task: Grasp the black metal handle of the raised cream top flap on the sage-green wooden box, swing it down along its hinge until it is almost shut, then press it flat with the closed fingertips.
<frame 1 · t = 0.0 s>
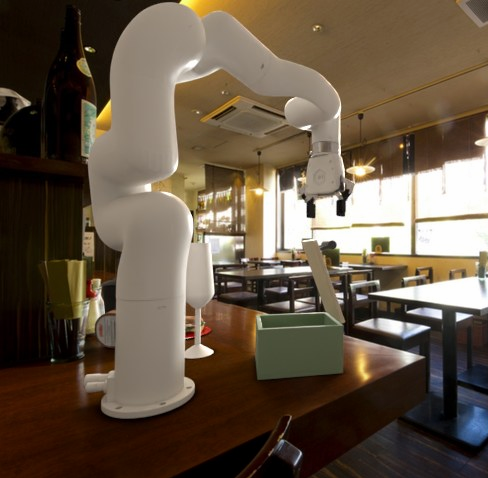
hand: (325, 217, 87), 31 cm above the table, tool pointing down, fingers open, 9 cm apart
champagne flute: (197, 354, 71), on the table
tin: (127, 348, 75), on the table
hamburger: (183, 333, 88), on the table
chest: (296, 364, 65), on the table
drinking cup: (117, 336, 85), on the table
lid: (330, 274, 67), point 18 cm above the table, hinge at 70.0°
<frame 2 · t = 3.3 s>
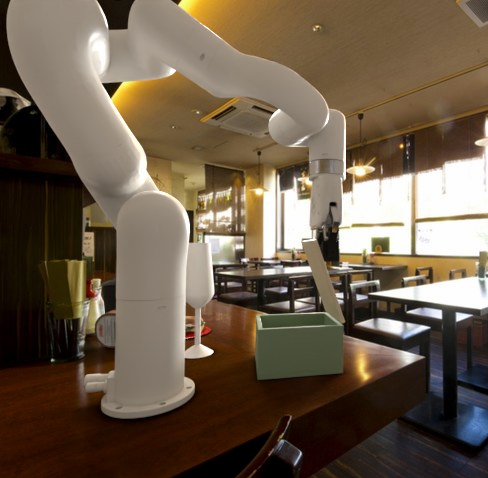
hand: (326, 259, 67), 21 cm above the table, tool pointing down, fingers closed on lid, 6 cm apart
lid: (330, 274, 67), point 18 cm above the table, hinge at 70.0°, touching gripper
everything else where it was.
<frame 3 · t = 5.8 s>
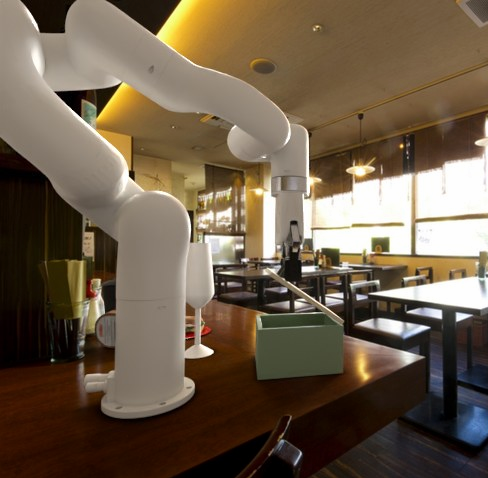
hand: (290, 278, 65), 17 cm above the table, tool pointing down, fingers closed on lid, 6 cm apart
lid: (307, 285, 66), point 16 cm above the table, hinge at 34.4°, touching gripper
everything else where it was.
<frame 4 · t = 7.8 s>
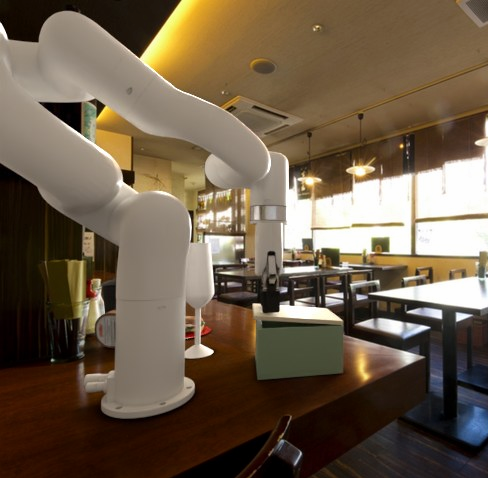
hand: (269, 307, 64), 11 cm above the table, tool pointing down, fingers closed on lid, 6 cm apart
lid: (296, 302, 65), point 12 cm above the table, hinge at 5.7°, touching gripper
everything else where it was.
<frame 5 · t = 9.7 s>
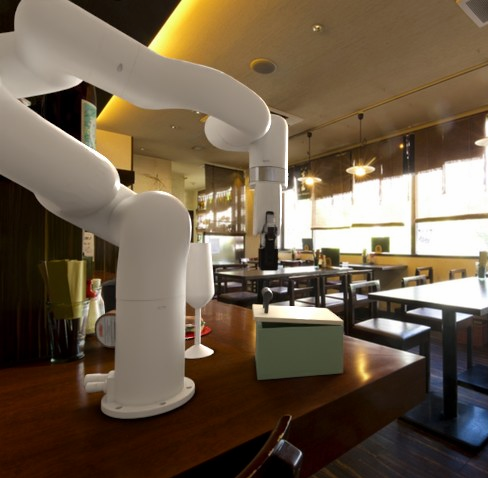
hand: (267, 268, 64), 19 cm above the table, tool pointing down, fingers open, 8 cm apart
lid: (295, 303, 65), point 12 cm above the table, hinge at 5.0°
everything else where it was.
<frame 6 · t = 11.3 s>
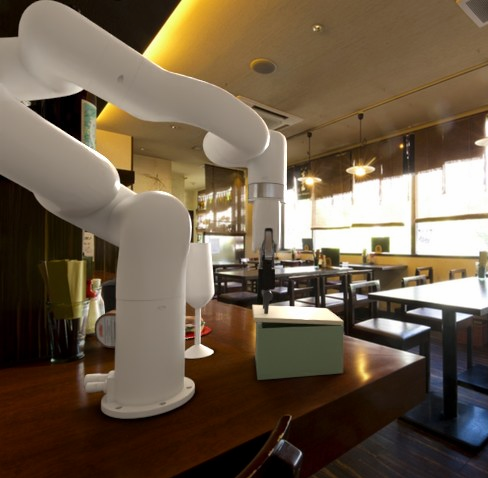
hand: (266, 289, 64), 15 cm above the table, tool pointing down, fingers closed
lid: (295, 303, 65), point 12 cm above the table, hinge at 4.6°, touching gripper
everything else where it was.
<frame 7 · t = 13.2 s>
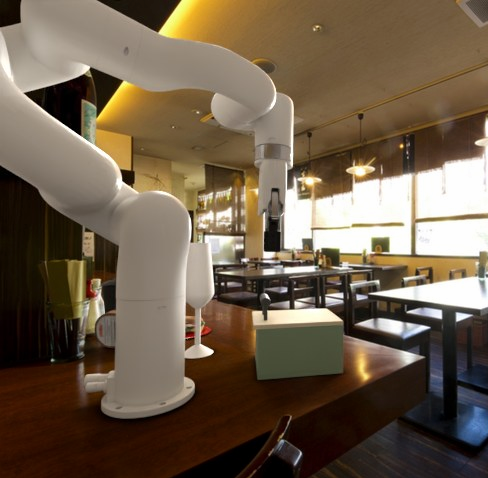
hand: (271, 251, 64), 22 cm above the table, tool pointing down, fingers closed
lid: (294, 307, 65), point 11 cm above the table, hinge at -0.2°, touching chest
everything else where it was.
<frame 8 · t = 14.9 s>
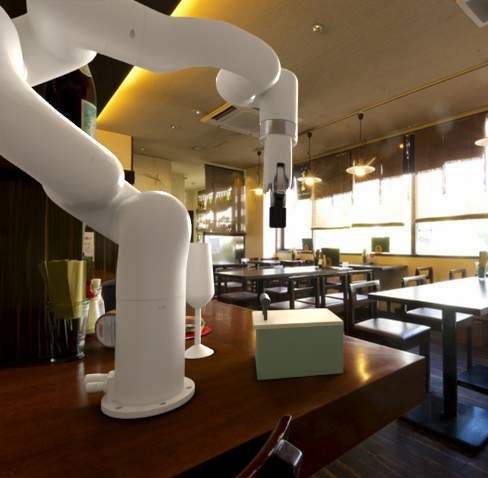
hand: (277, 227, 65), 27 cm above the table, tool pointing down, fingers closed
nothing on the table moved.
at the end: lid at +0° (first picture: +70°); the gripper is holding nothing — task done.
